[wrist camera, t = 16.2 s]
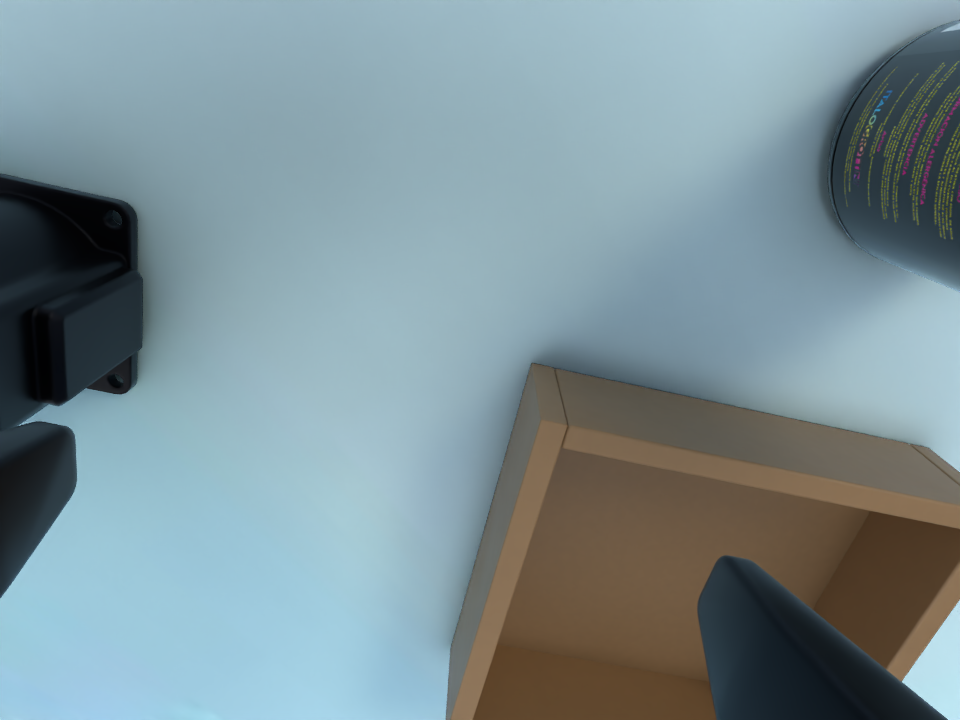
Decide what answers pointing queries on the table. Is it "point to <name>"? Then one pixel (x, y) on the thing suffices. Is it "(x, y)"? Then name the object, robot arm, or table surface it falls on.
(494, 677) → the storage box
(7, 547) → the robot arm
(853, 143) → the supplement container
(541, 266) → the table surface
